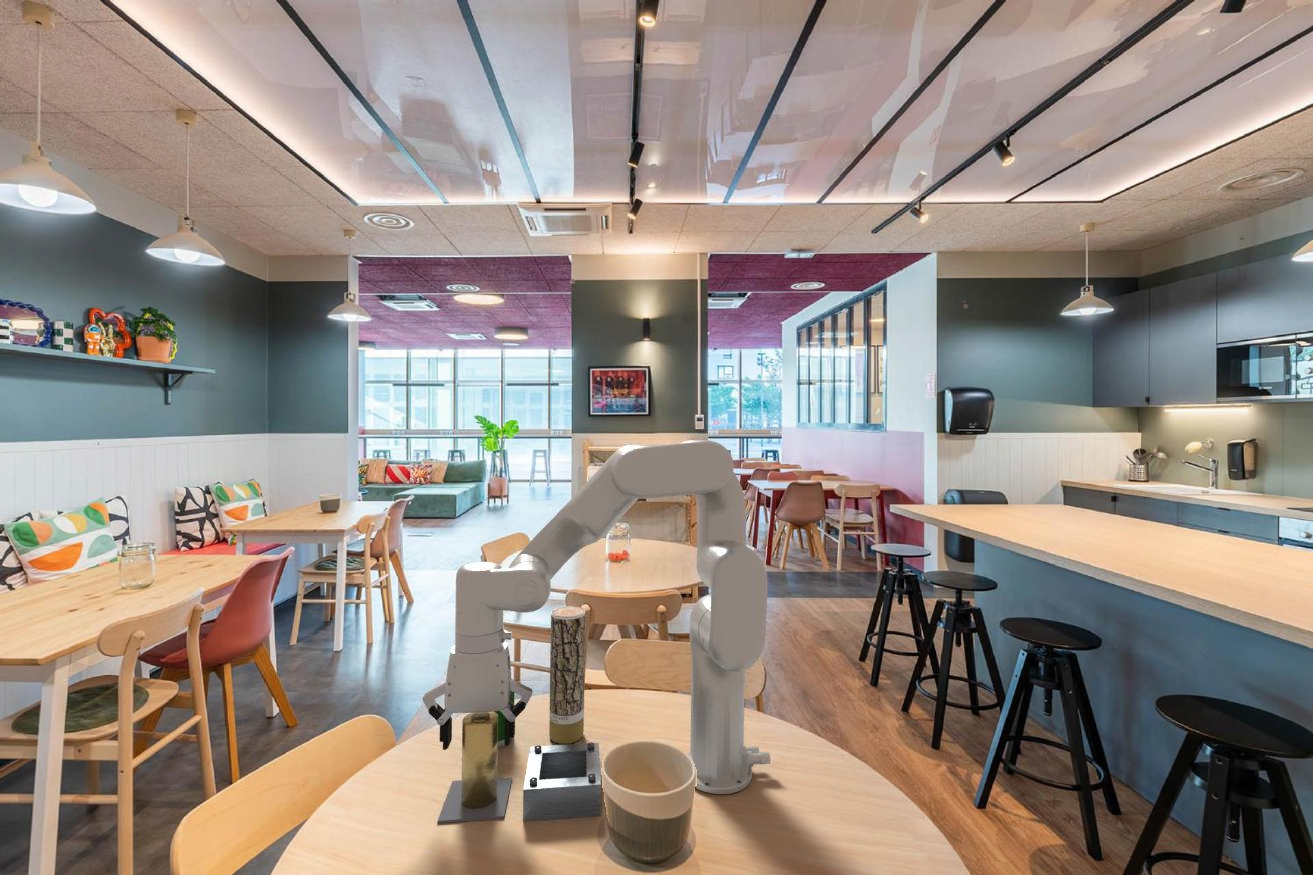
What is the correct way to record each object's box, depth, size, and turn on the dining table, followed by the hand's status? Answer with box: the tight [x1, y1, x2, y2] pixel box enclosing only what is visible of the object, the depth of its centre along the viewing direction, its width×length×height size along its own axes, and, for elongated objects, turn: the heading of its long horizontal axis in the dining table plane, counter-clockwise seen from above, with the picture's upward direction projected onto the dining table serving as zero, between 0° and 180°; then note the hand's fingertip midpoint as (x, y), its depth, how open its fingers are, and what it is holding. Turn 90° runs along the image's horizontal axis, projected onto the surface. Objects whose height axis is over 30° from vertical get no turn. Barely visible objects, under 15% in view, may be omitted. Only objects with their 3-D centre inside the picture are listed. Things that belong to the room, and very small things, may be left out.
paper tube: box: [548, 605, 586, 745], centre depth 111 cm, size 7×7×25 cm
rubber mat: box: [436, 776, 513, 824], centre depth 92 cm, size 10×10×1 cm
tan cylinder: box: [461, 712, 499, 809], centre depth 92 cm, size 6×6×13 cm
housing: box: [522, 741, 602, 822], centre depth 93 cm, size 12×12×6 cm
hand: (477, 743), depth 92 cm, fingers open, 9 cm apart
